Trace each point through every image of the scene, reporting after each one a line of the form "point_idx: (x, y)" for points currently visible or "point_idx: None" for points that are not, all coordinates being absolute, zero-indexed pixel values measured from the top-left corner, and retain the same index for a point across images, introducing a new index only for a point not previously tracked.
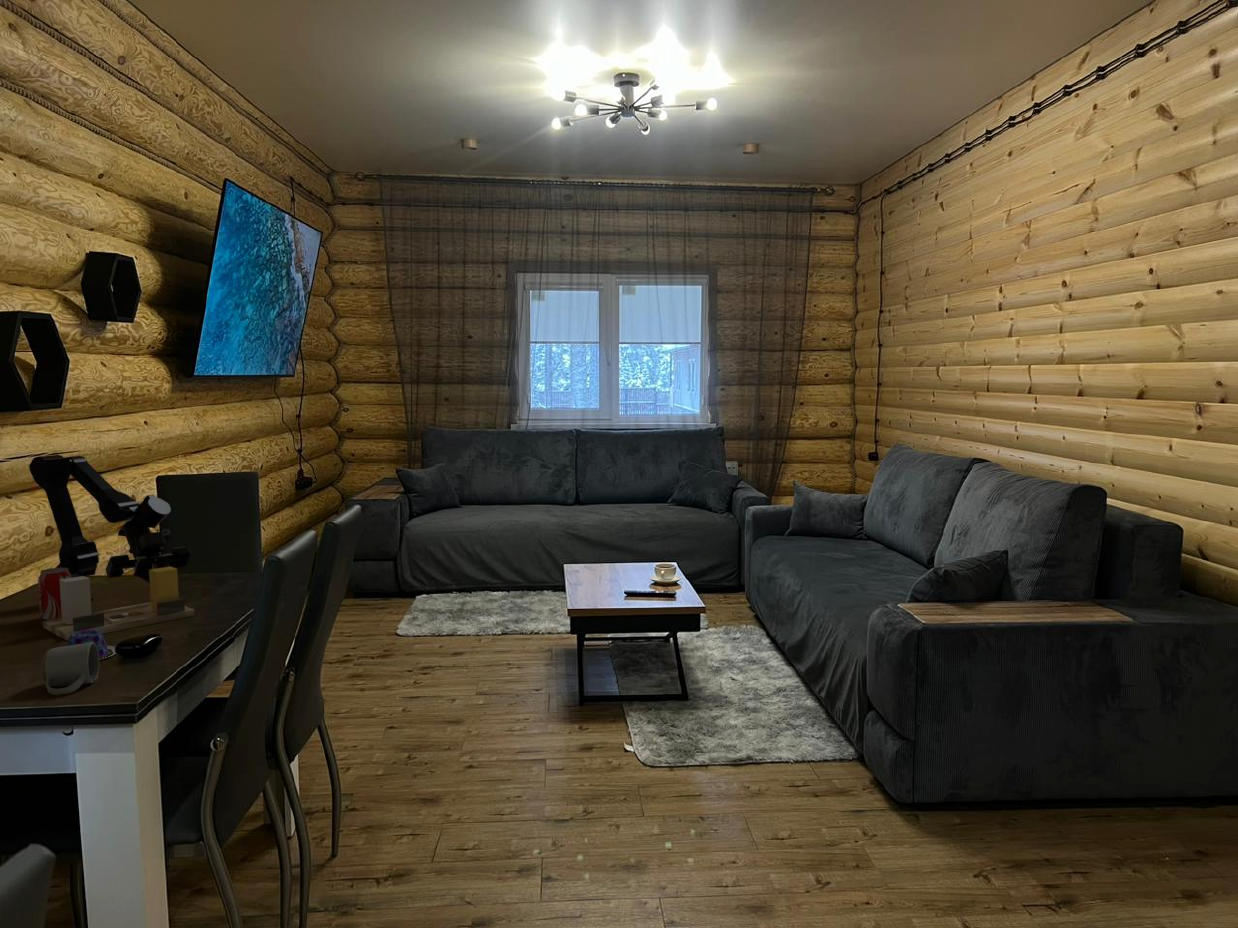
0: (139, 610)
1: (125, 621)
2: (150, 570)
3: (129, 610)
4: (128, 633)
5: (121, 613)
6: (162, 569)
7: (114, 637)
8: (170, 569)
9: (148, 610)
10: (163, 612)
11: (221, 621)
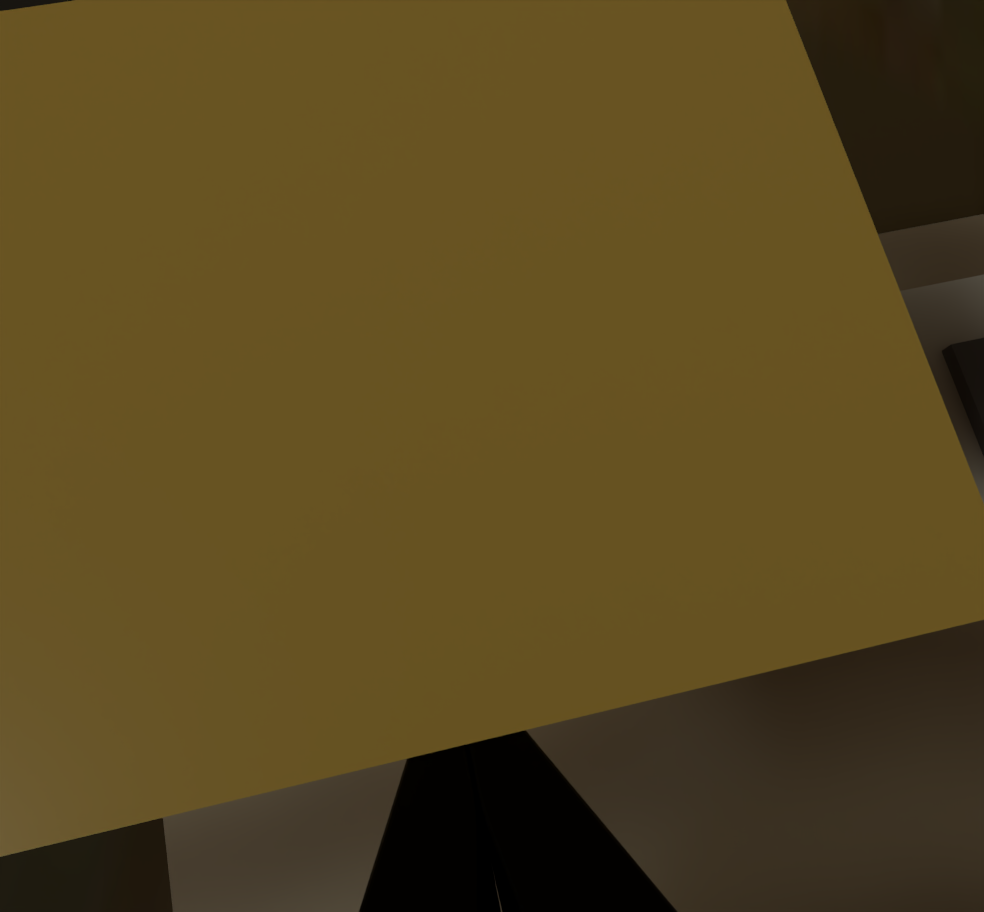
0: (748, 795)
1: (916, 278)
2: (944, 428)
3: (879, 894)
4: (851, 91)
5: (979, 756)
6: (415, 250)
7: (965, 33)
8: (112, 41)
9: (635, 710)
10: None
11: (15, 7)
